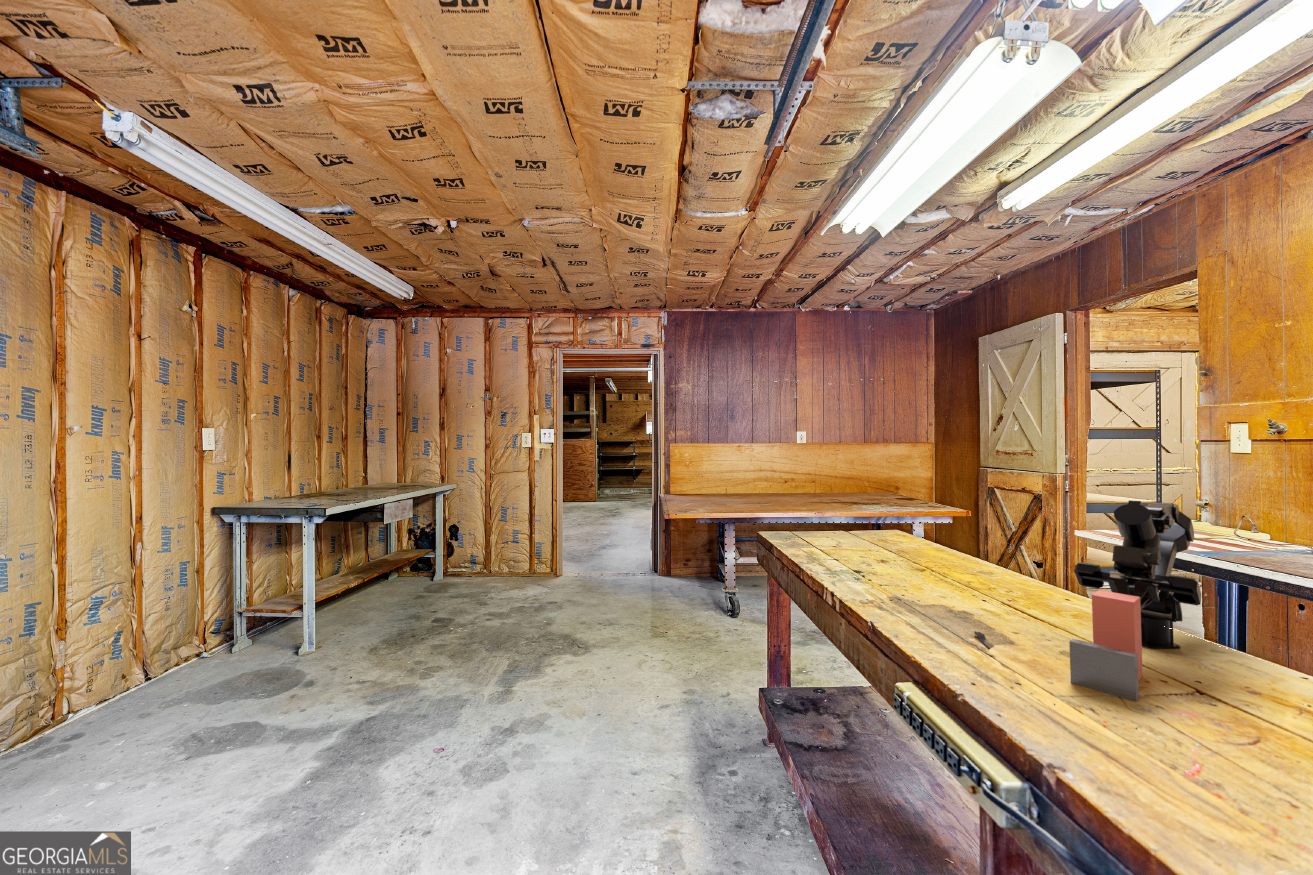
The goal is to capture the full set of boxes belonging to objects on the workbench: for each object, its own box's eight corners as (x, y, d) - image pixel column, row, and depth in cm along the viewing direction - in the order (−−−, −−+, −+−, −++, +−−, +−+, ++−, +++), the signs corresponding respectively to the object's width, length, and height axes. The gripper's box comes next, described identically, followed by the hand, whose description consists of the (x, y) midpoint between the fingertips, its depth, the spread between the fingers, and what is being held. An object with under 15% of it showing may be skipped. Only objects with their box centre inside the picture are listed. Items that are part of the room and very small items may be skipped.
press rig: (1090, 667, 103) (1089, 622, 103) (1158, 685, 95) (1157, 637, 95) (1067, 688, 95) (1065, 640, 95) (1140, 710, 87) (1138, 658, 87)
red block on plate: (1101, 665, 101) (1099, 589, 101) (1142, 676, 96) (1140, 596, 96) (1094, 672, 98) (1091, 594, 98) (1136, 684, 93) (1133, 602, 94)
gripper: (1075, 525, 113) (1060, 584, 106) (1196, 537, 98) (1188, 606, 91) (1087, 555, 118) (1073, 613, 111) (1204, 571, 103) (1197, 639, 96)
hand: (1127, 617), depth 102 cm, fingers closed
